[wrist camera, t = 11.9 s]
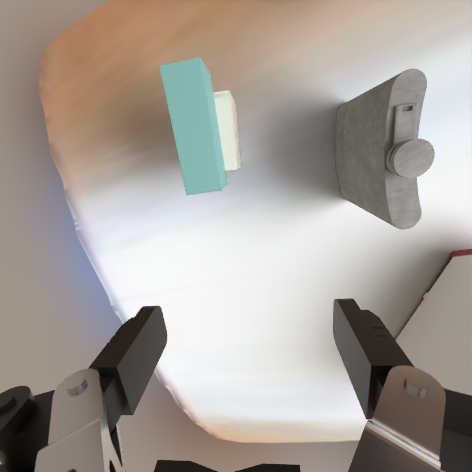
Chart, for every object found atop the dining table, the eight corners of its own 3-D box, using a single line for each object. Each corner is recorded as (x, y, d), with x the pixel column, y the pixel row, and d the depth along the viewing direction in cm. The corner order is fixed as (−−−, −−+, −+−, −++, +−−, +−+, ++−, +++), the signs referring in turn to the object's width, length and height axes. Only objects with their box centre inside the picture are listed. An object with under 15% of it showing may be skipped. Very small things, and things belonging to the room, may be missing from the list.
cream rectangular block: (188, 109, 42) (170, 98, 33) (235, 103, 41) (229, 90, 32) (197, 170, 45) (182, 175, 36) (241, 165, 44) (237, 169, 35)
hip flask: (360, 198, 44) (436, 234, 25) (336, 202, 45) (393, 240, 26) (356, 100, 39) (447, 55, 20) (330, 106, 40) (395, 67, 21)
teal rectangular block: (176, 80, 32) (159, 65, 26) (210, 74, 31) (200, 57, 26) (197, 188, 36) (186, 195, 31) (227, 184, 36) (221, 190, 30)
